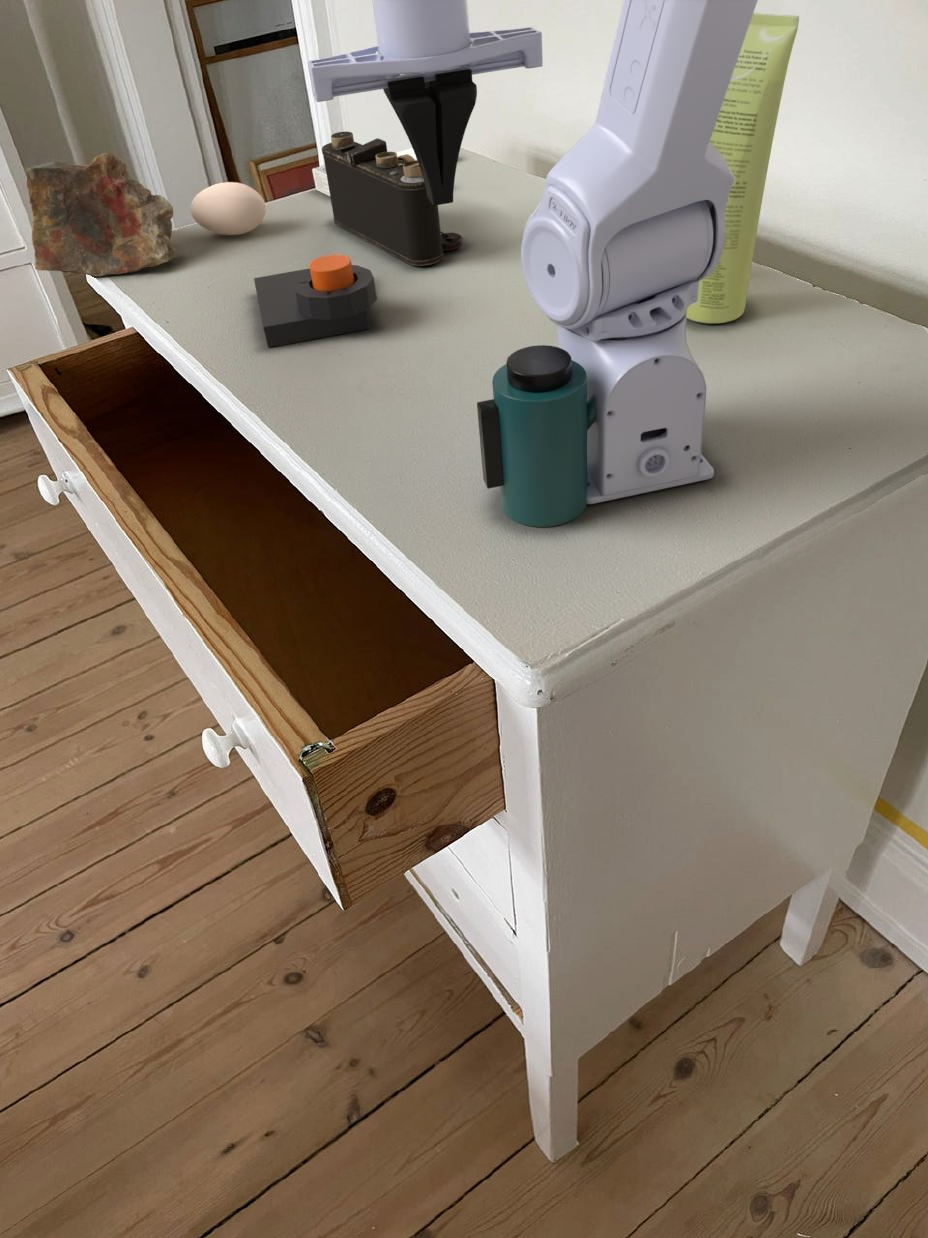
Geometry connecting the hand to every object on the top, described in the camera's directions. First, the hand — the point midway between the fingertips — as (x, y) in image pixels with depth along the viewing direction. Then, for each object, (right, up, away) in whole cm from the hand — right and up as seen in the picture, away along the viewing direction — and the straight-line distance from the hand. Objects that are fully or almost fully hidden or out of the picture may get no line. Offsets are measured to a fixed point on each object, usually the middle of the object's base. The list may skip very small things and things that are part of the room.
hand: (440, 199), depth 66 cm
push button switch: (-11, -4, +13) cm, 17 cm away
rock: (-29, +7, +28) cm, 41 cm away
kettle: (+6, -22, -9) cm, 25 cm away
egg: (-17, +11, +26) cm, 33 cm away
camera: (-5, +7, +24) cm, 25 cm away
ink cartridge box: (-11, +14, +31) cm, 36 cm away
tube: (+20, -6, +7) cm, 22 cm away
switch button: (-8, -3, +9) cm, 13 cm away
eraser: (-2, +23, +42) cm, 48 cm away
